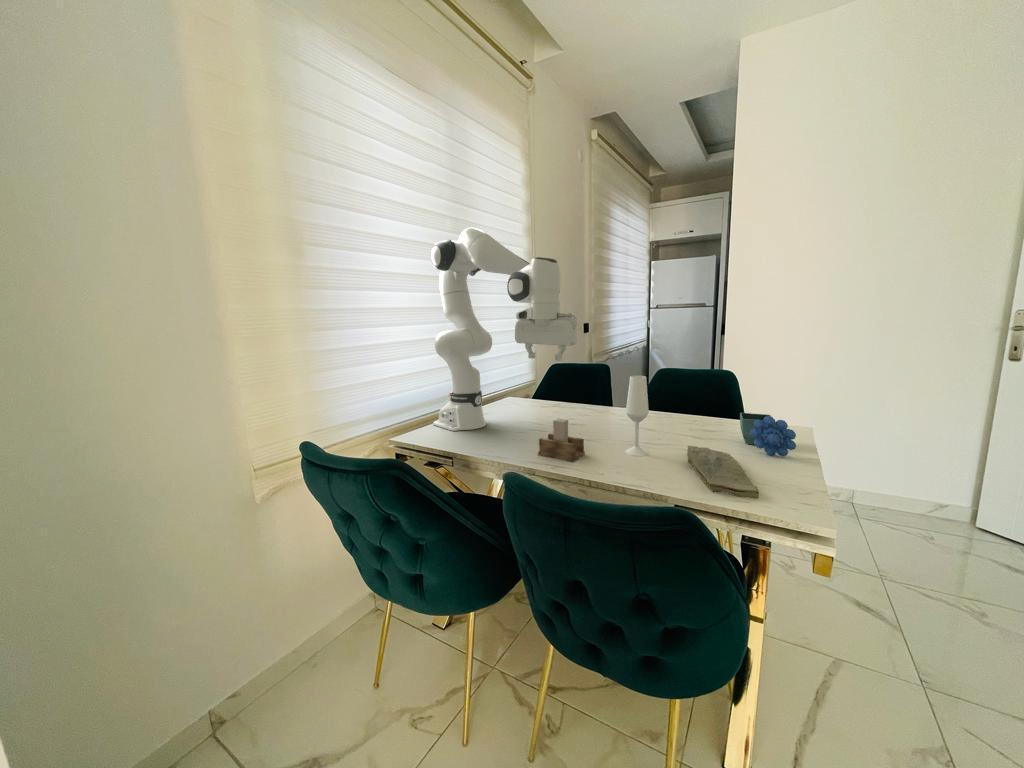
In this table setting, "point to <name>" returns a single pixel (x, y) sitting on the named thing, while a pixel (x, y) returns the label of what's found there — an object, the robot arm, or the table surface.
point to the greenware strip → (560, 430)
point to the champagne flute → (637, 408)
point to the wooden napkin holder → (561, 448)
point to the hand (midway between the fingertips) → (544, 359)
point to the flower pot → (749, 425)
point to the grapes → (773, 436)
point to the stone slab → (721, 472)
